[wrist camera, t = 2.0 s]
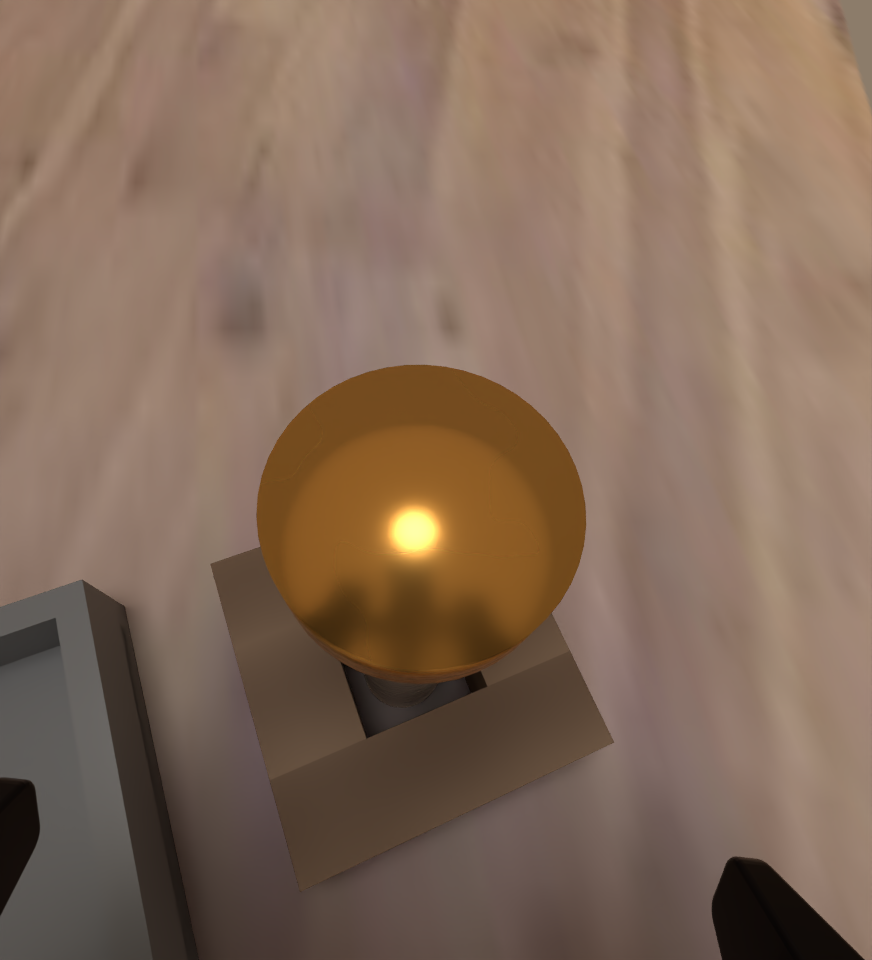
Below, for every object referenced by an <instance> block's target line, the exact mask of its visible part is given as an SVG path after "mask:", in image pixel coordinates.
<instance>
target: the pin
mask: <svg viewBox="0 0 872 960" xmlns="http://www.w3.org/2000/svg"><path fill="white" fill-rule="evenodd" d="M257 527H258V537H259V542H260V546H261V550H262V554H263V558H264V560H265V563H266V566H267V568H268V571H269V573H270V576H271V578H272V580H273V581H274V583H275V585H276V587H277V588H278V590H279V592H280V594H281V595H282V597H283V599H284V600H285V602H286V604H287V605H288V607H289V609H290V610H291V612H292V614H293V615H294V617H295V619H296V620H297V621H298V623H299V624H300V625H301V627H302V628H303V629H304V630H305V632H306V633H307V634H308V636H310V637H311V638H312V639H313V640H314V641H315V642H316V643H317V644H318V645H319V646H320V647H321V648H322V649H323V650H324V651H326V652H327V653H329V654H330V655H331V656H333V657H334V658H335V659H337V660H338V661H340V662H342V663H343V664H345V665H347V666H349V667H351V668H353V669H355V670H357V671H359V672H362V673H364V676H365V680H366V683H367V685H368V687H369V689H370V691H371V692H372V693H373V695H374V696H375V697H376V698H377V699H379V700H380V701H381V702H383V703H385V704H387V705H390V706H393V707H401V708H403V707H410V706H414V705H417V704H419V703H421V702H422V701H424V700H425V699H426V698H427V697H428V696H429V695H430V694H431V693H432V692H433V690H434V689H435V687H436V685H437V684H438V683H441V682H446V681H451V680H456V679H460V678H463V677H466V676H469V675H471V674H474V673H477V672H479V671H481V670H483V669H485V668H487V667H489V666H491V665H493V664H495V663H497V662H498V661H500V660H501V659H502V658H504V657H505V656H507V655H508V654H510V653H511V652H512V651H513V650H514V649H516V648H517V647H518V646H519V645H520V644H521V643H522V642H523V641H524V640H525V639H526V638H527V637H528V636H529V635H530V634H531V633H532V632H533V631H534V630H535V629H536V628H538V627H539V626H540V625H541V624H542V623H543V622H544V621H545V620H546V619H547V618H548V616H549V615H550V614H551V613H552V611H553V610H554V609H555V608H556V606H557V605H558V604H559V603H560V601H561V600H562V598H563V596H564V595H565V593H566V591H567V590H568V588H569V586H570V585H571V583H572V580H573V578H574V575H575V573H576V571H577V568H578V566H579V563H580V559H581V555H582V551H583V547H584V540H585V530H586V510H585V500H584V495H583V489H582V485H581V481H580V478H579V475H578V472H577V469H576V466H575V464H574V462H573V460H572V458H571V456H570V454H569V452H568V450H567V448H566V446H565V445H564V443H563V442H562V440H561V439H560V437H559V435H558V434H557V433H556V431H555V430H554V429H553V428H552V427H551V425H550V424H549V423H548V422H547V421H546V419H545V418H544V417H543V416H542V415H541V414H539V413H538V412H537V411H536V410H535V409H534V408H533V407H532V406H531V405H530V404H528V403H527V402H526V401H524V400H523V399H522V398H520V397H519V396H518V395H516V394H515V393H513V392H511V391H510V390H508V389H506V388H505V387H503V386H501V385H500V384H497V383H495V382H493V381H491V380H488V379H486V378H484V377H482V376H479V375H475V374H472V373H469V372H466V371H463V370H458V369H453V368H448V367H442V366H432V365H404V366H395V367H387V368H383V369H379V370H374V371H370V372H367V373H364V374H361V375H358V376H356V377H353V378H350V379H348V380H346V381H344V382H342V383H340V384H338V385H336V386H334V387H332V388H331V389H329V390H328V391H326V392H325V393H323V394H321V395H320V396H318V397H317V398H316V399H314V400H313V401H312V402H311V403H310V404H309V405H307V406H306V407H305V408H304V409H303V410H302V411H301V412H300V413H299V414H298V415H297V416H296V417H295V418H294V419H293V420H292V421H291V422H290V423H289V425H288V426H287V428H286V429H285V430H284V432H283V433H282V435H281V436H280V437H279V439H278V440H277V442H276V444H275V446H274V448H273V450H272V452H271V454H270V456H269V458H268V460H267V463H266V466H265V469H264V471H263V474H262V478H261V483H260V487H259V492H258V501H257Z"/></svg>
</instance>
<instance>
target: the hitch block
mask: <svg viewBox="0 0 872 960" xmlns="http://www.w3.org/2000/svg"><path fill="white" fill-rule="evenodd" d="M211 568H212V571H213V575H214V579H215V582H216V586H217V590H218V593H219V597H220V601H221V604H222V608H223V612H224V615H225V619H226V623H227V626H228V630H229V634H230V637H231V641H232V645H233V648H234V652H235V656H236V659H237V663H238V667H239V670H240V674H241V678H242V681H243V685H244V689H245V692H246V696H247V699H248V703H249V707H250V710H251V714H252V718H253V721H254V725H255V729H256V732H257V736H258V740H259V743H260V747H261V751H262V754H263V758H264V762H265V765H266V769H267V773H268V776H269V780H270V784H271V787H272V791H273V795H274V798H275V802H276V806H277V809H278V813H279V817H280V820H281V824H282V828H283V831H284V835H285V839H286V842H287V846H288V850H289V853H290V857H291V860H292V864H293V868H294V871H295V875H296V879H297V882H298V886H299V890H300V892H301V891H303V890H305V889H307V888H310V887H312V886H314V885H316V884H318V883H320V882H322V881H324V880H326V879H328V878H331V877H333V876H335V875H337V874H339V873H341V872H343V871H345V870H347V869H349V868H352V867H354V866H356V865H358V864H360V863H362V862H364V861H366V860H368V859H370V858H372V857H375V856H377V855H379V854H381V853H383V852H385V851H387V850H389V849H391V848H393V847H396V846H398V845H400V844H402V843H404V842H406V841H408V840H410V839H412V838H414V837H417V836H419V835H421V834H423V833H425V832H427V831H429V830H431V829H433V828H435V827H438V826H440V825H442V824H444V823H446V822H448V821H450V820H452V819H454V818H456V817H459V816H461V815H463V814H465V813H467V812H469V811H471V810H473V809H475V808H477V807H479V806H482V805H484V804H486V803H488V802H490V801H492V800H494V799H496V798H498V797H500V796H503V795H505V794H507V793H509V792H511V791H513V790H515V789H517V788H519V787H521V786H524V785H526V784H528V783H530V782H532V781H534V780H536V779H538V778H540V777H542V776H545V775H547V774H549V773H551V772H553V771H555V770H557V769H559V768H561V767H563V766H566V765H568V764H570V763H572V762H574V761H576V760H578V759H580V758H582V757H584V756H586V755H589V754H591V753H593V752H595V751H597V750H599V749H601V748H603V747H605V746H607V745H610V744H612V743H614V741H613V739H612V737H611V735H610V733H609V731H608V729H607V727H606V725H605V723H604V720H603V718H602V716H601V714H600V712H599V710H598V708H597V706H596V704H595V702H594V700H593V698H592V696H591V694H590V692H589V689H588V687H587V685H586V683H585V681H584V679H583V677H582V675H581V673H580V671H579V669H578V667H577V665H576V663H575V660H574V658H573V656H572V654H571V652H570V650H569V648H568V646H567V644H566V642H565V640H564V638H563V636H562V634H561V632H560V629H559V627H558V625H557V623H556V621H555V619H554V617H553V615H552V613H551V614H550V615H549V616H548V618H547V619H546V620H545V621H544V622H543V623H542V624H541V625H540V626H539V627H538V628H536V629H535V630H534V631H533V632H532V633H531V634H530V635H529V636H528V637H527V638H526V639H525V640H524V641H523V642H522V643H521V644H520V645H519V646H518V647H517V648H516V649H514V650H513V651H512V652H511V653H510V654H508V655H507V656H505V657H504V658H502V659H501V660H500V661H498V662H497V663H495V664H493V665H491V666H489V667H487V668H485V669H483V670H481V671H479V672H477V673H474V674H471V675H469V676H466V677H465V679H466V681H467V684H468V686H469V689H470V691H471V694H469V695H466V696H464V697H462V698H460V699H457V700H455V701H453V702H450V703H448V704H446V705H443V706H441V707H439V708H436V709H434V710H432V711H429V712H427V713H425V714H422V715H420V716H418V717H415V718H413V719H411V720H409V721H406V722H404V723H402V724H399V725H397V726H395V727H392V728H390V729H388V730H385V731H383V732H381V733H378V734H376V735H374V736H371V737H369V738H367V735H366V732H365V729H364V726H363V723H362V720H361V717H360V714H359V711H358V708H357V705H356V702H355V699H354V696H353V693H352V690H351V687H350V684H349V682H348V679H347V676H346V673H345V670H344V667H343V664H342V662H340V661H338V660H337V659H335V658H334V657H333V656H331V655H330V654H329V653H327V652H326V651H324V650H323V649H322V648H321V647H320V646H319V645H318V644H317V643H316V642H315V641H314V640H313V639H312V638H311V637H310V636H308V634H307V633H306V632H305V630H304V629H303V628H302V627H301V625H300V624H299V623H298V621H297V620H296V619H295V617H294V615H293V614H292V612H291V610H290V609H289V607H288V605H287V604H286V602H285V600H284V599H283V597H282V595H281V594H280V592H279V590H278V588H277V587H276V585H275V583H274V581H273V580H272V578H271V576H270V573H269V571H268V568H267V566H266V563H265V560H264V558H263V554H262V550H261V547H258V548H255V549H252V550H250V551H247V552H244V553H241V554H238V555H235V556H232V557H229V558H226V559H224V560H221V561H218V562H215V563H212V564H211Z"/></svg>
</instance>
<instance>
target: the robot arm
mask: <svg viewBox="0 0 872 960" xmlns="http://www.w3.org/2000/svg"><path fill="white" fill-rule="evenodd" d="M39 834H40V820H39V812H38V804H37V797H36V789H35V785H34V784H33V783H32V782H31V781H30V780H26V779H17V778H8V777H1V778H0V916H1V914H2V912H3V910H4V908H5V906H6V904H7V902H8V900H9V898H10V896H11V894H12V892H13V891H14V889H15V887H16V885H17V883H18V881H19V879H20V877H21V875H22V873H23V871H24V869H25V867H26V865H27V863H28V861H29V859H30V857H31V855H32V853H33V851H34V849H35V847H36V844H37V842H38V838H39ZM712 918H713V923H714V927H715V932H716V936H717V940H718V944H719V948H720V953H721V957H722V960H864V959H863V958H862V957H861V956H860V955H859V954H858V953H857V952H856V951H855V950H854V949H853V948H852V947H851V946H850V945H849V944H848V943H847V942H846V941H845V940H844V939H843V938H842V937H841V936H840V935H839V934H838V933H837V932H836V931H835V930H834V929H833V928H832V927H831V926H830V925H829V924H828V923H827V922H826V921H825V920H824V919H823V918H822V917H821V916H820V915H819V914H818V913H817V912H816V911H815V910H814V909H813V908H812V907H811V906H810V905H809V904H808V903H807V902H806V901H805V900H804V899H803V898H802V897H801V896H800V895H799V894H798V893H797V892H796V891H795V890H794V889H793V888H792V887H791V886H790V885H789V884H788V883H787V882H786V881H785V880H784V879H783V878H782V877H781V876H780V875H779V874H778V873H777V872H776V871H775V870H774V869H773V868H772V867H771V866H769V865H768V864H767V863H766V862H764V861H762V860H759V859H754V858H744V857H732V858H730V859H729V860H728V861H727V863H726V865H725V868H724V871H723V873H722V876H721V878H720V881H719V884H718V886H717V889H716V891H715V894H714V897H713V900H712Z"/></svg>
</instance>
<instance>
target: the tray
mask: <svg viewBox="0 0 872 960" xmlns="http://www.w3.org/2000/svg"><path fill="white" fill-rule="evenodd" d="M1 777H8V778H17V779H26V780H30V781H31V782H32V783H33V784H34V785H35V789H36V797H37V804H38V812H39V820H40V834H39V838H38V842H37V844H36V847H35V849H34V851H33V853H32V855H31V857H30V859H29V861H28V863H27V865H26V867H25V869H24V871H23V873H22V875H21V877H20V879H19V881H18V883H17V885H16V887H15V889H14V891H13V892H12V894H11V896H10V898H9V900H8V902H7V904H6V906H5V908H4V910H3V912H2V914H1V916H0V960H199V959H198V955H197V950H196V945H195V940H194V936H193V931H192V926H191V921H190V917H189V912H188V907H187V902H186V898H185V893H184V888H183V883H182V879H181V874H180V869H179V864H178V860H177V855H176V850H175V845H174V841H173V836H172V831H171V826H170V821H169V817H168V812H167V807H166V802H165V798H164V793H163V788H162V783H161V779H160V774H159V769H158V764H157V760H156V755H155V750H154V745H153V741H152V736H151V731H150V726H149V722H148V717H147V712H146V707H145V703H144V698H143V693H142V688H141V684H140V679H139V674H138V669H137V665H136V660H135V655H134V650H133V646H132V641H131V636H130V631H129V627H128V622H127V617H126V612H125V608H124V606H123V605H122V604H120V603H118V602H117V601H115V600H114V599H112V598H110V597H109V596H107V595H106V594H104V593H103V592H101V591H99V590H98V589H96V588H95V587H93V586H91V585H90V584H88V583H87V582H85V581H84V580H79V581H76V582H74V583H71V584H68V585H65V586H62V587H59V588H56V589H53V590H50V591H47V592H44V593H41V594H38V595H35V596H32V597H29V598H26V599H23V600H20V601H17V602H14V603H11V604H8V605H5V606H2V607H0V778H1Z"/></svg>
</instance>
